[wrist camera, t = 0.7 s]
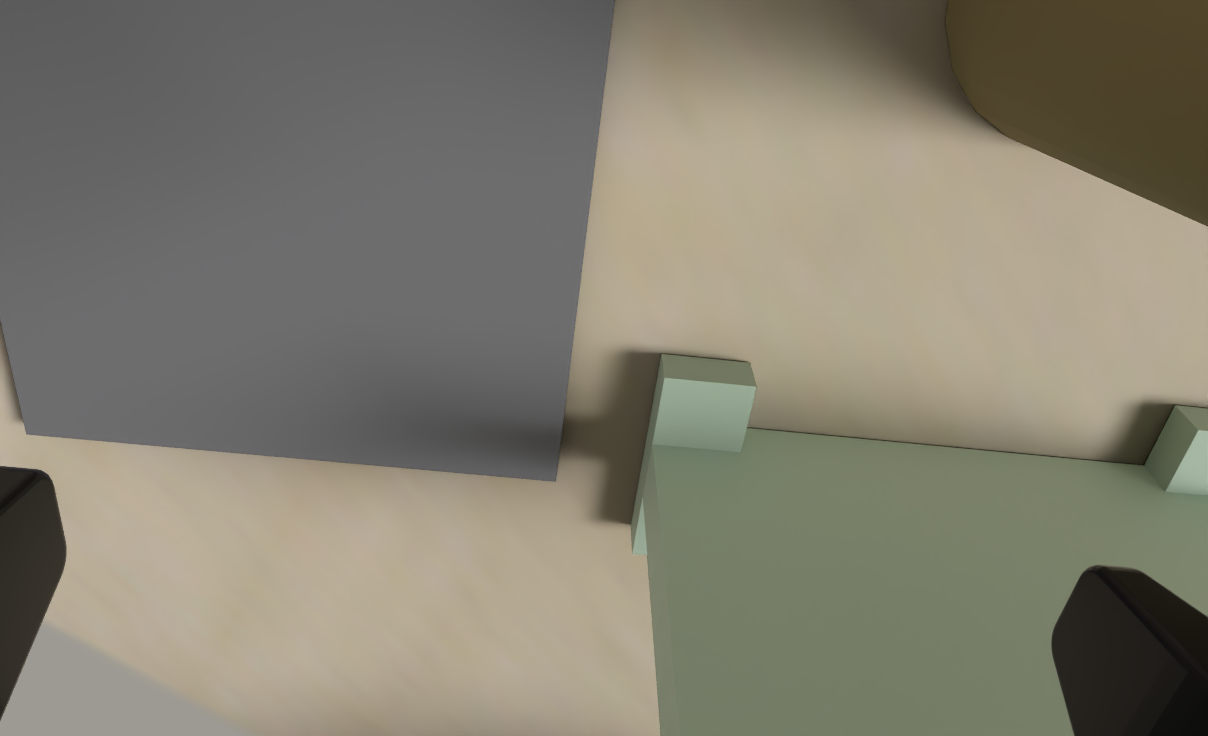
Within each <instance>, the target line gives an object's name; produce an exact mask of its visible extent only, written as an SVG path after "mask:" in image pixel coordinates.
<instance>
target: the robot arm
mask: <svg viewBox="0 0 1208 736" xmlns="http://www.w3.org/2000/svg"><path fill="white" fill-rule="evenodd" d="M65 561H66V541H65V536H64V531H63V527H62V522H61V517H60V512H59V508H58V503H57V498H56V493H55V489H54V485H53V482H52V480H51V478H50V477H49V475H48V474H46V473H45V472H43V471H41V470H38V469H27V468H16V467H5V466H0V720H1V718H2V715H3V713H4V711H5V708H6V706H7V704H8V701H9V699H10V697H11V694H12V692H13V689H14V687H15V685H16V683H17V680H18V678H19V675H20V673H21V671H22V668H23V666H24V664H25V661H26V659H27V656H28V654H29V652H30V649H31V647H32V645H33V642H34V640H35V637H36V635H37V633H38V630H39V628H40V626H41V623H42V621H43V618H44V616H45V614H46V611H47V609H48V607H49V604H50V602H51V600H52V597H53V595H54V592H55V590H56V588H57V585H58V583H59V581H60V578H61V576H62V573H63V570H64V566H65ZM1051 648H1052V656H1053V660H1054V664H1055V667H1056V671H1057V675H1058V678H1059V682H1060V686H1061V689H1062V693H1063V697H1064V701H1065V704H1066V708H1067V712H1068V715H1069V719H1070V723H1071V726H1072V730H1073V734H1074V736H1208V616H1206V615H1205V614H1203V613H1202V612H1200V611H1199V610H1197V609H1196V608H1195V607H1193V606H1192V605H1190V604H1189V603H1187V602H1186V601H1184V600H1183V599H1182V598H1180V597H1179V596H1177V595H1176V594H1174V593H1173V592H1171V591H1170V590H1169V589H1167V588H1166V587H1164V586H1163V585H1161V584H1160V583H1158V582H1157V581H1155V580H1154V579H1153V578H1151V577H1150V576H1148V575H1147V574H1145V573H1144V572H1142V571H1140V570H1138V569H1135V568H1130V567H1120V566H1109V565H1093V566H1090V567H1088V568H1087V569H1086V570H1085V571H1083V572H1082V574H1081V576H1080V577H1079V579H1078V581H1077V583H1076V585H1075V587H1074V589H1073V591H1072V593H1071V595H1070V597H1069V599H1068V601H1067V602H1066V604H1065V606H1064V608H1063V610H1062V612H1061V614H1060V616H1059V618H1058V620H1057V622H1056V624H1055V626H1054V629H1053V633H1052V640H1051Z"/></svg>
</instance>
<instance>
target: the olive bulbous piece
mask: <svg viewBox="0 0 1208 736" xmlns="http://www.w3.org/2000/svg"><path fill="white" fill-rule="evenodd" d="M945 24H946V31H947V37H948V44H949V51H950V57H951V64H952V70H953V72H954V74H955V76H956V78H957V79H958V81H959V83H960V85H961V87H962V88H963V90H964V92H965V94H966V96H967V97H968V99H969V101H970V103H971V105H972V107H973V108H974V110H975V111H976V112H978V113H979V114H980V115H981V116H982V117H984V118H985V119H986V120H987V121H989V122H990V123H991V124H992V125H994V126H995V127H996V128H997V129H998V130H1000V131H1001V132H1002V133H1003V134H1005V135H1006V136H1007V137H1008V138H1011V139H1013V140H1015V141H1017V142H1020V143H1022V144H1024V145H1026V146H1029V147H1031V148H1033V149H1035V150H1038V151H1040V152H1042V153H1044V154H1047V155H1049V156H1051V157H1053V158H1056V159H1058V160H1060V161H1062V162H1065V163H1067V164H1069V165H1071V166H1074V167H1076V168H1078V169H1080V170H1083V171H1085V172H1087V173H1089V174H1091V175H1094V176H1096V177H1098V178H1100V179H1103V180H1105V181H1107V182H1109V183H1112V184H1114V185H1116V186H1118V187H1121V188H1123V189H1125V190H1127V191H1130V192H1132V193H1134V194H1136V195H1139V196H1141V197H1143V198H1145V199H1148V200H1150V201H1152V202H1154V203H1157V204H1159V205H1161V206H1163V207H1166V208H1168V209H1170V210H1172V211H1175V212H1177V213H1179V214H1181V215H1183V216H1186V217H1188V218H1190V219H1192V220H1195V221H1197V222H1199V223H1201V224H1204V225H1206V226H1208V0H948V6H947V12H946V19H945Z"/></svg>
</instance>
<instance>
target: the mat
mask: <svg viewBox="0 0 1208 736" xmlns="http://www.w3.org/2000/svg"><path fill="white" fill-rule="evenodd" d="M614 3H615V0H0V321H1V325H2V330H3V334H4V339H5V343H6V347H7V352H8V356H9V361H10V365H11V369H12V374H13V378H14V382H15V387H16V391H17V396H18V400H19V404H20V409H21V413H22V417H23V422H24V426H25V431H26V434H28V435H39V436H50V437H62V438H73V439H84V440H95V441H106V442H118V443H129V444H140V445H151V446H162V447H174V448H185V449H196V450H207V451H218V452H230V453H241V454H252V455H263V456H275V457H286V458H297V459H308V460H319V461H331V462H342V463H353V464H364V465H375V466H387V467H398V468H409V469H420V470H431V471H443V472H454V473H465V474H476V475H487V476H499V477H510V478H521V479H532V480H543V481H555V482H556V476H557V468H558V460H559V452H560V444H561V435H562V427H563V419H564V411H565V403H566V395H567V386H568V378H569V370H570V362H571V354H572V346H573V338H574V329H575V321H576V313H577V305H578V297H579V289H580V280H581V272H582V264H583V256H584V248H585V240H586V232H587V223H588V215H589V207H590V199H591V191H592V183H593V174H594V166H595V158H596V150H597V142H598V134H599V126H600V117H601V109H602V101H603V93H604V85H605V77H606V69H607V60H608V52H609V44H610V36H611V28H612V20H613V11H614Z"/></svg>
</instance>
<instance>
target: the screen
mask: <svg viewBox="0 0 1208 736" xmlns="http://www.w3.org/2000/svg"><path fill="white" fill-rule="evenodd" d="M756 388H757V386H756V382H755V378H754V375H753V371H752V368H751V364H750V363H748V362H738V361H728V360H718V359H708V358H698V357H688V356H678V355H668V354H661V360H660V365H659V371H658V377H657V382H656V388H655V393H654V399H653V405H652V410H651V416H650V421H649V427H648V433H647V438H646V444H645V449H644V455H643V461H642V466H641V472H640V477H639V483H638V489H637V494H636V500H635V505H634V511H633V517H632V522H631V540H632V554H638V555H647V560H648V574H649V587H650V600H651V614H652V627H653V640H654V654H655V667H656V680H657V694H658V707H659V720H660V734H661V736H1074V734H1073V730H1072V726H1071V723H1070V719H1069V715H1068V712H1067V708H1066V704H1065V701H1064V697H1063V693H1062V689H1061V686H1060V682H1059V678H1058V675H1057V671H1056V667H1055V664H1054V660H1053V656H1052V648H1051V640H1052V633H1053V629H1054V626H1055V624H1056V622H1057V620H1058V618H1059V616H1060V614H1061V612H1062V610H1063V608H1064V606H1065V604H1066V602H1067V601H1068V599H1069V597H1070V595H1071V593H1072V591H1073V589H1074V587H1075V585H1076V583H1077V581H1078V579H1079V577H1080V576H1081V574H1082V572H1083V571H1085V570H1086V569H1087V568H1088V567H1090V566H1093V565H1109V566H1120V567H1130V568H1135V569H1138V570H1140V571H1142V572H1144V573H1145V574H1147V575H1148V576H1150V577H1151V578H1153V579H1154V580H1155V581H1157V582H1158V583H1160V584H1161V585H1163V586H1164V587H1166V588H1167V589H1169V590H1170V591H1171V592H1173V593H1174V594H1176V595H1177V596H1179V597H1180V598H1182V599H1183V600H1184V601H1186V602H1187V603H1189V604H1190V605H1192V606H1193V607H1195V608H1196V609H1197V610H1199V611H1200V612H1202V613H1203V614H1205V615H1206V616H1208V408H1198V407H1188V406H1178V405H1175V407H1174V408H1173V410H1172V412H1171V414H1170V416H1169V418H1168V420H1167V422H1166V424H1165V426H1164V428H1163V430H1162V432H1161V434H1160V436H1159V438H1158V440H1157V441H1156V443H1155V445H1154V447H1153V449H1152V451H1151V453H1150V455H1149V457H1148V459H1147V461H1146V463H1145V465H1144V466H1142V465H1132V464H1121V463H1111V462H1100V461H1090V460H1079V459H1069V458H1058V457H1047V456H1037V455H1026V454H1016V453H1005V452H995V451H984V450H974V449H963V448H953V447H942V446H931V445H921V444H910V443H900V442H889V441H879V440H868V439H858V438H847V437H837V436H826V435H815V434H805V433H794V432H784V431H773V430H763V429H752V428H747V425H748V421H749V417H750V413H751V409H752V405H753V400H754V396H755V392H756Z"/></svg>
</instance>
